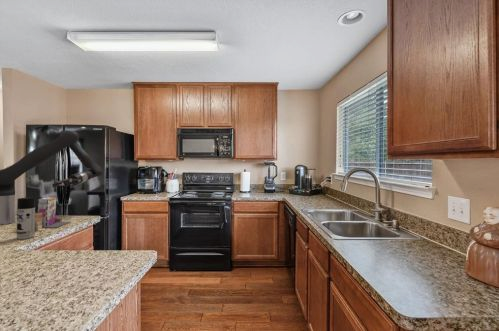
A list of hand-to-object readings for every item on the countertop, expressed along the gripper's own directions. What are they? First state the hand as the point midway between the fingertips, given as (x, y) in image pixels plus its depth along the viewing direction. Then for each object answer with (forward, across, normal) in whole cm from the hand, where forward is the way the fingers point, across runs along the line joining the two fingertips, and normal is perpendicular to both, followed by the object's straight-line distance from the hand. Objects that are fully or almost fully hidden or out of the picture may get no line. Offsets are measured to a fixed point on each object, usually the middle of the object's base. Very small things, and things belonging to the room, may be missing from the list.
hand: (58, 185), depth 159 cm
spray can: (+38, +13, +16) cm, 44 cm away
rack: (+19, 0, +20) cm, 27 cm away
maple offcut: (+24, +3, +19) cm, 31 cm away
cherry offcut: (+23, +3, +14) cm, 28 cm away
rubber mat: (+14, +7, +21) cm, 26 cm away
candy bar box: (+15, +1, +21) cm, 26 cm away
